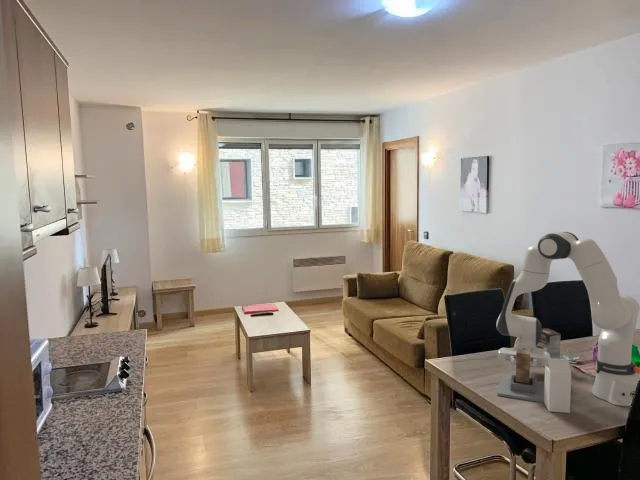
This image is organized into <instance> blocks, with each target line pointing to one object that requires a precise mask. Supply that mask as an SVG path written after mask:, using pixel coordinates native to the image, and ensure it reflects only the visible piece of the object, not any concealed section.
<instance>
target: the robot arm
mask: <svg viewBox="0 0 640 480" xmlns="http://www.w3.org/2000/svg"><path fill="white" fill-rule="evenodd" d="M564 259H570V260H571V261H572V262H573V264H574V266H575V267H576V269H577V272H578V273H579V276H580V277H581V279H582V282H583V284H584V285H585V289H586V290H587V294H588V298H589V302H590V305H591V306H590V307H591V319H592V322H593V323H594V324H595V325H596V326H597V327H598V328H600V329H601V331H600V335H599V336H598V338H597V339H598V340H597V341H598V342H597V345H598V346H597V357H596V359H595V372H596V373H595V379H594V383H593V386H592V388H591V393H592V394H593V395H594V396H595V397H597V398H598V399H600V400H601V399H602V400H604V401H606V402H608V403H609V404H612V405H614V406H622V407H624V406H625V407H631V406H630V404H631V401H632V398H633V395H634V392H635V388H636V386H637V383H638V381H639V380H640V374H639V373H640V367H638V365H637V364H636V363H635V362H634V361H632V348H633V340H634V336H635V332H636V329H637V321H638V316H639V314H640V305H639V302H638V300H636V299H635V298H634V297H633V296H629V295H623V294H620V291H619V288H618V278H617V276H616V274H615V272H614V270H613V268H612V266H611V265H610V262H609V261H608V258H607V257H606V255H605V253H604V252H603V250H602V249H601V247H600V246H599V245H598V244H597V242H596V241H595V240H594V239H592V238H581V239H579V237H578V236H576V234H574V233H572V232H569V231H556V232H555V231H554V232H552V233H547V234H544V235H543V236H542V237H541V238H540V239H539V241H538V243H537V244H534V245H530V246H528V248H526V250H525V252H524V256H523V259H522V264H521V269H520V270H521V271H520V274H519V275H518V277H517V278H514V279H512V281H511V283H510V285H509V288H508V290H507V292H506V295H505V299H504V302H503V304H502V308H501V312H500V314H499V316H498V318H497V319H496V324H495V325H496V330H497V332H499V334H501V335H502V336H509V337H516V339H515V342H514V345H513V348H510V347H501V348H499V349H498V350H497V360H498V361H501V362H510V363H511V364H512V365H516V352H517V349H523V350H530V368H531V367H532V368H534V367H535V366H538V367H540V366H541V367H543V366H545V365H546V363H547V361H548V358H549V359H551V357H550V354H549V353H548V352H547V348H544V347H540V346H537V345H536V344H538V343H539V342H540V340H541V333H542V329H543V328H542V323H541V322H540V320H539V319H538V318H537V317H531V316H527V315H526V316H525V315H519V314H514V313H512V310H513V307H514V304H515V301H516V299H517V297H518V296H521V295H522V294H527V293H532V292H537V291H539V290H541V289H543V288H544V287H545V286H546V285H547V284H548V281H549V276H550V272H551V271H550V270H551V265H552V262H553V261H554V260H564Z"/></svg>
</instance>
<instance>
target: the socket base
mask: <svg viewBox="0 0 640 480" xmlns="http://www.w3.org/2000/svg"><path fill="white" fill-rule="evenodd" d="M544 384H545V381H544V382H543V381H539V380H536V378H535V377H530V379H529V383H523V382H517V381H516V374H515V375H514V374H513V375H511V377H509V376H501V377H500V381H499V385H498V388H497V389H498V390H497V396H499V397H505V398H511V399H518V400H519V399H520V400H524V401H530V402H537V403H544Z"/></svg>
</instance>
